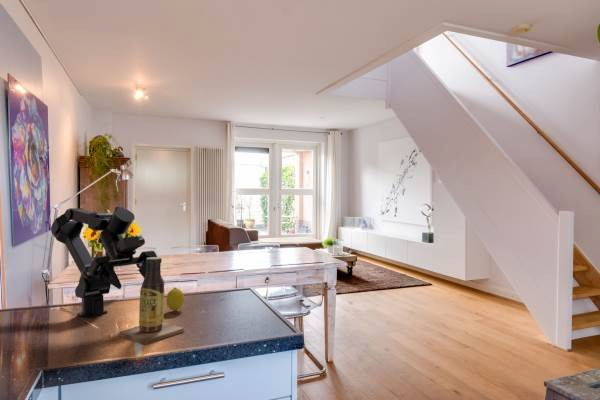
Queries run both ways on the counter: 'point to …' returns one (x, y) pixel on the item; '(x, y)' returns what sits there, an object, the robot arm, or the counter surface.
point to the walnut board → (151, 333)
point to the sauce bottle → (152, 297)
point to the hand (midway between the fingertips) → (135, 285)
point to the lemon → (175, 299)
